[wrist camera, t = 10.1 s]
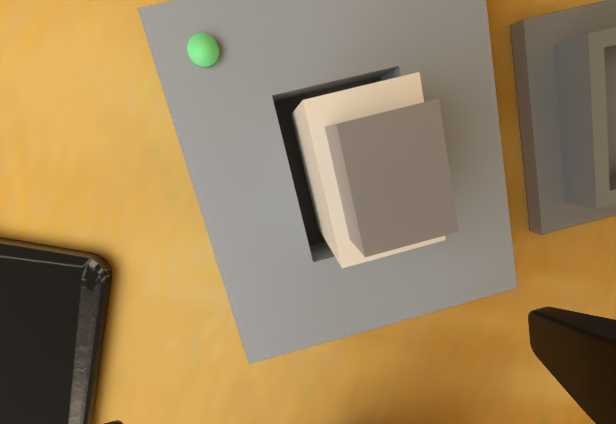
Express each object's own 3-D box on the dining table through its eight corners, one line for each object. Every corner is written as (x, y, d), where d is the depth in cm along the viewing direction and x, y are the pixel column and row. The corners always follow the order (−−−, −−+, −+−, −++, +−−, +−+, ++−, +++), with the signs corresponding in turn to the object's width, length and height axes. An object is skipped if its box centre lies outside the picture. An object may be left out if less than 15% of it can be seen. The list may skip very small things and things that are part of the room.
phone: (108, 261, 18) (77, 495, 21) (117, 254, 19) (86, 477, 22) (-62, 233, 17) (-73, 485, 19) (-42, 227, 18) (-55, 467, 21)
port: (471, 261, 21) (521, 290, 17) (252, 322, 21) (248, 368, 16) (433, -20, 18) (483, -69, 14) (167, 38, 17) (134, 4, 13)
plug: (389, 209, 19) (478, 257, 11) (318, 228, 18) (356, 291, 11) (367, 95, 17) (450, 57, 9) (290, 114, 17) (310, 90, 9)
